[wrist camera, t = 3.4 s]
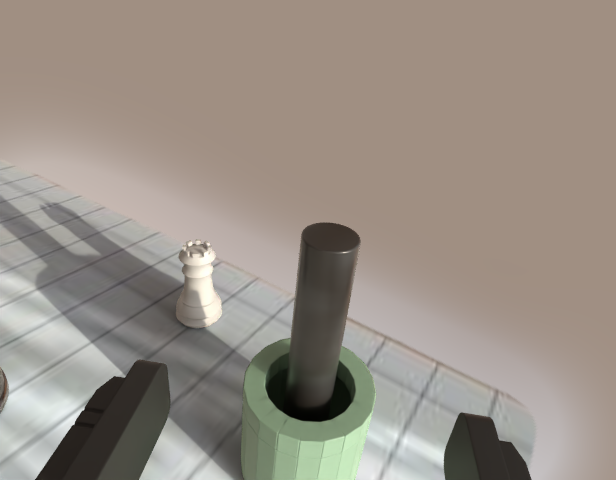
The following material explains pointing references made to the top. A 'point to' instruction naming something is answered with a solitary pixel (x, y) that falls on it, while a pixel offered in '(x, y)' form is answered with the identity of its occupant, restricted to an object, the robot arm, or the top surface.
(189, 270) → the rook chess piece
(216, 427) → the top surface
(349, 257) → the rod
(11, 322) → the top surface
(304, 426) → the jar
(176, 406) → the top surface
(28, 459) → the top surface
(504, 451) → the robot arm
